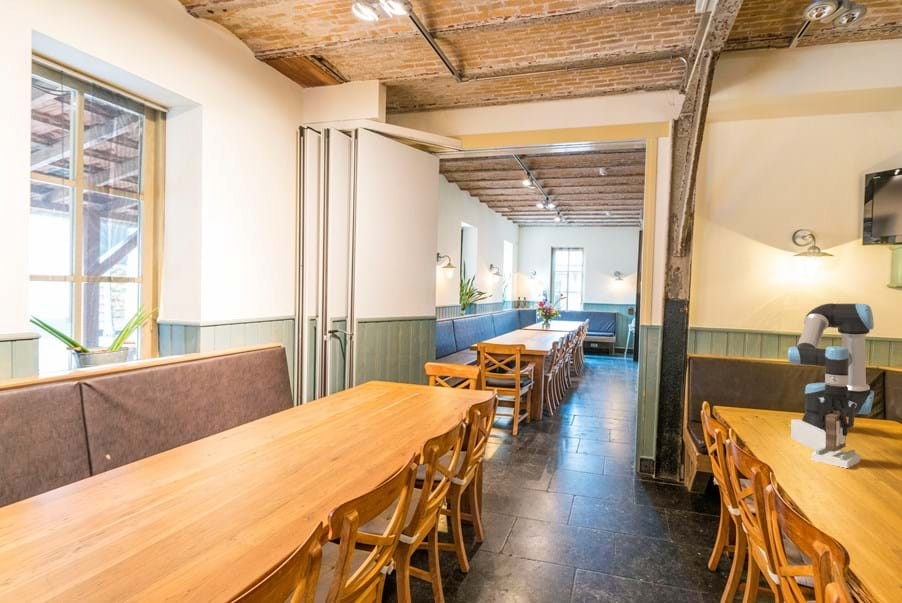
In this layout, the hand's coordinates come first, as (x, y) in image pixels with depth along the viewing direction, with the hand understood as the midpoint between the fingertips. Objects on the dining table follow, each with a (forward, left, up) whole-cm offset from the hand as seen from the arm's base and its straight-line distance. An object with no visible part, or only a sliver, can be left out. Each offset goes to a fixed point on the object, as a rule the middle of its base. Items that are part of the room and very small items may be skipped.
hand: (835, 441), depth 201 cm
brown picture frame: (0, 0, -3) cm, 3 cm away
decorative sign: (-15, -15, -9) cm, 23 cm away
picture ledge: (0, 0, -8) cm, 8 cm away
